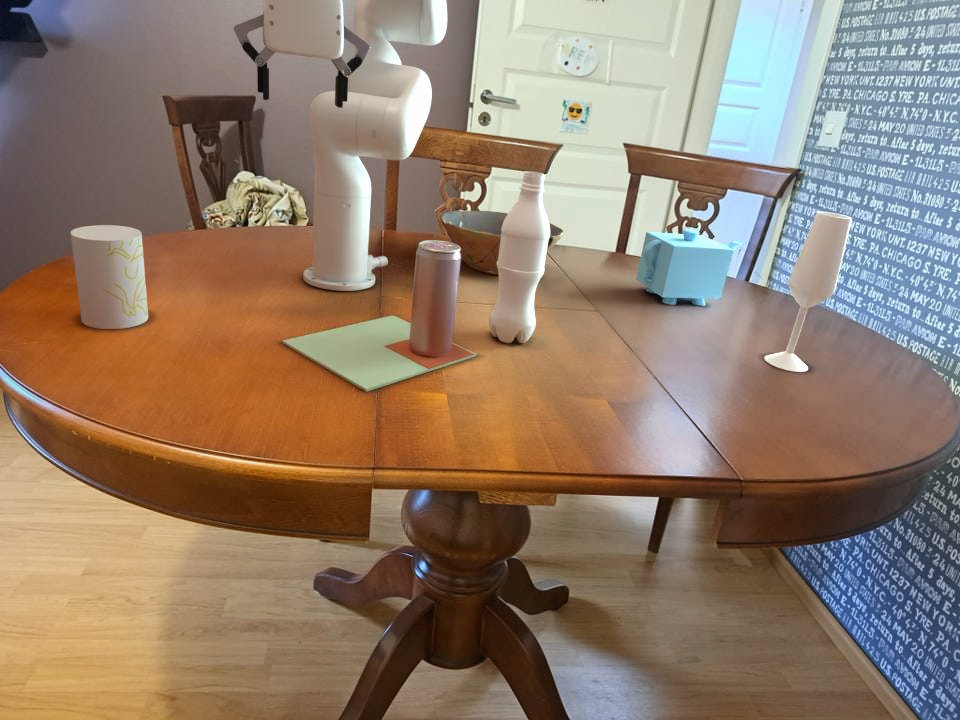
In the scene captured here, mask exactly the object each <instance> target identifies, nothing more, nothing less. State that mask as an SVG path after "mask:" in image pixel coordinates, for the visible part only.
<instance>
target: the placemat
mask: <svg viewBox="0 0 960 720" xmlns="http://www.w3.org/2000/svg"><path fill="white" fill-rule="evenodd" d="M410 324H411V322H409V321H406V320H404V319H402V318H400V317H398V316H396V315H393V314H392V315H388V316H383V317H379V318H375V319H370V320H366V321H362V322H358V323H353V324H349V325H343V326H340V327H336V328H335V327H334V328H331V329H327V330H322V331H318V332H313V333H309V334H304V335H300V336H296V337H292V338H287V339H283V340H281V341H282V344H283V345H284V346H287V347H288V348H289V349H292V350H293V351H295V352H297V353H298V354H300V355H302V356H304V357H305V358H306V359H309V360H311V361H312V362H314V363H315V364H317V365H319V366H321V367H322V368H324V369H326V370H327V371H329V372H331V373H332V374H335V375H336V376H338V377H340V378H341V379H343V380H344V381H346V382H348V383H350V384H351V385H353V386H355V387H357V388H358V389H360V390H362V391H364V392H365V393H368V392H370V391H374V390H377V389H379V388H383V387H386V386H389V385H392V384H396V383H398V382H401V381H405V380H408V379H411V378H414V377H417V376H421V375H422V374H426V373H430V372H432V371H435V370H438V369H441V368H445V367H448V366H451V365H454V364H457V363H460V362H463V361H466V360H469V359H473V358H475V357H477V355H478V354H477V353H476V352H473V351H472V350H470V349H468V348H465V347H463V346H461V345H458V344H456V343H455V342H452V346H451V349H450V351H449V352H448V353H447V354H446V355H443V356H440V357H427V356H422V355H419V354H416V353H415V352H413V351H412V349H411V348H410V345H409V336H410Z"/></svg>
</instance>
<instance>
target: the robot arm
mask: <svg viewBox="0 0 960 720" xmlns="http://www.w3.org/2000/svg"><path fill="white" fill-rule="evenodd" d="M343 1H344V0H263V5H262V14H260V15H258V16H255V17H253V18H251V19H247V20H245V21H243V22H241V23H238V24H236V25H234V26H233V31H234V34H235V36H236V38H237V40H238V41H239V44H240V46H241V48H242V50H243V51H244V53H246V54H247V56H249V58H250V59H251V60H252V61H253V63H254V64H255V65H256V75H257V76H256V78H257V84H256V85H257V93H259V94H260V93H261V94H262V100H263V101H268V100H270V69H269V67H268V62H269V60H270V59H271V58H272V57H273V56H274V55H275V54H276V53H279V54H285V55H292V56H299V57H307V58H316V59H323V60H330V61H331V63H332V64H333V65H334V67H335V68H336V70H337V75H336V76H335V84H334V85H335V86H334V87H335V89H334V90H329V91H325V92H321V93H320V94H318V95H316V97H314V98H313V99H312V102H311V104H310V107H309V112H308V122H309V130H310V137H311V143H312V144H311V145H312V152H313V180H314V181H313V220H312V221H313V222H312V223H313V225H312V266H310V267H308V268H306V269H305V270H304V271H303V273H302V276H303V277H302V278H303V281H304V282H305V283H306V284H308V285H310V286H312V287H315V288H318V289H322V290H328V291H337V292H354V291H361V290H366V289H367V290H368V289H369V288H371V287H373V286H374V285H375V283H376V276H375V274H374V273H373V272H372V271H373V270H375V268H384V267H387V266H388V264H389V260H388V257H386V256H385V255H381V256H375V257H374V256H373V255H372V254H369V242H370V241H369V240H370V223H371V221H370V220H371V205H372V204H371V203H372V181H371V178H370V175H369V173H368V170H367V169H366V167H365V165H364V164H363V162H362V160H361V159H360V157H366V158H373V159H381V160H389V161H403V160H405V159H407V158H409V157H410V155H412V153H413V151H414V149H415V147H416V146H417V143H418V140H419V138H420V136H421V134H422V131H423V129H424V127H425V124H426V122H427V119H428V117H429V115H430V110H431V106H432V96H433V90H432V84H431V79H430V78H429V76H428V74H427V73H426V72H425V71H424V70H423V69H422V68H420V67H416V66H412V65H406V64H405V65H404V64H403V63H402V60H401V58H400V55H399V54H398V53H397V51H396V50H395V48H394V47H393V45H392V44H391V42H397V43H398V42H399V43H405V44H412V45H421V46H436V45H438V44H440V43H441V42H442V41H443V39H444V38H445V36H446V33H447V28H448V5H447V0H356V1H355V3H354V8H353V31H352V30H350V29H349V28H348V27H347V26H345V25H344V24H345V23H344V21H345V20H344V2H343ZM260 28H262V41H263V45H264V46H265V47H263V49H262V50H261V51H260V52H258V50H257V49H256V48H255V47H254V46H253V45H252V43H251V41H250V38H249V36H248V34H249V33H251V32H252V31H256V30H258V29H260ZM345 41H347V42H348V43H350V44H351V45H352V46H353V47H355V52H354V55H353V57H352V58H350V59H349V60H348V61H347V62H346V61H345V60H344V58H343V57H342V56H343V53H344V45H345Z"/></svg>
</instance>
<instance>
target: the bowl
mask: <svg viewBox="0 0 960 720" xmlns="http://www.w3.org/2000/svg"><path fill="white" fill-rule="evenodd" d="M508 213H509V212H500V211H490V210H452V211H451V210H450V211H446V212H444V213H441V214H440V215H439V219H440V222H441V223H442V226H443V228H444V229H445V231H446V233H447V235H448V237H449V239H450V241H451V243H454V244H457V245H458V246H460V248H461V250H460V253H461V260H463V261H464V263H465V264H466V265H467V266H469V267H470V268H471V269H474V270H476V271H479V272H482V273H486V274H492V275H496V276H497V275H498V276H499V274H498V267H497V261H498V256H499V248H500V241H501V233H502V231H501V228H502V224H503V222H504V220H505V218H506V216H507V215H508ZM549 225H550V238H549V240H548V246H547V252H549V250H551V248H553V247H554V246H555V245H556V244H557V243H558V242H559V240H560V239H562V236H563V234H564V230H563V229H562V228H561V227H558V226H557V225H555V224H553V223H550V222H549Z"/></svg>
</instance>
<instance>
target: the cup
mask: <svg viewBox="0 0 960 720" xmlns="http://www.w3.org/2000/svg"><path fill="white" fill-rule="evenodd" d="M142 234H143V233H142V231H141V230H139V229H137V228H134V227H131V226H125V225H113V224H98V225H86V226H79V227H76V228H74V229H72V230H71V231H70V239H71V240H70V241H71V247H72V257H73V261H74V262H73V264H74V271H75V272H74V273H75V279H76V287H77V296H78V303H79V311H80V319H81V323H82V324H83V325H85V326H87V327H90V328H92V329H93V328H94V329H100V330H122V329H127V328H134V327H136V326H140V325H143V324H144V323H146V322H147V321H148V320H149V308H148V307H149V306H148V295H147V294H148V293H147V284H146V271H145V260H144V247H143V235H142Z"/></svg>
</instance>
